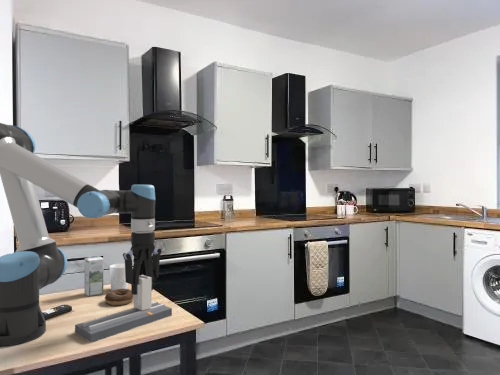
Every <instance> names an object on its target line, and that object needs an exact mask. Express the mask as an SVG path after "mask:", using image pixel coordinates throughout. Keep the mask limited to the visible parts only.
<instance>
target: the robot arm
mask: <svg viewBox="0 0 500 375" xmlns="http://www.w3.org/2000/svg"><path fill="white" fill-rule="evenodd" d="M35 152H36V142H35V139H34V137H33V136H32V134H30V132H29V131H27V130H25V129H24V128H21V127H19V126H17V125H13V124H6V123H2V122H0V180H1V183H2V187H3V189H4V190H3V191H4V193H5V197H6V200H7V205H8V208H9V212H10V215H11V220H12V224H13V226H14V231H15V233H16V237H17V240H18V247H17V249H16V250H15V252H12V253H6V254H3V255H1V256H0V347H6V346H7V347H8V346H13V345H20V344H24V343H26V342H30V341H33V340H35V339H37V338H39V337H41V336H43V335H44V334H45V333H46V331H47V323H46V320H45V317H44V314H43V312H42V309H41V306H40V290H41V289H43V288H45V287H47V286H49V285H52V284H54V283H55V282H57V281H58V280H59V279H60V278H62V276H64V274H65V273H66V270H67V268H68V259H67V256H66V254H65V252H64V251H63V250H61V249H60V248H59V247H58V245H57V242H56V240H55V239H53V238H51V237H50V236H49V232H48V230H47V225H46V222H45V217H44V215H43V211H42V207H41V204H40V200H39V197H38V193H37V189H36V186H37V187H39V188H41V189H43V190H44V191H46V192H48V193H49V194H51V195H53V196H55V197H57V198H59V199H60V200H62V201H64V202H66V203H67V204H70V205H71V206H73V207H75V208H77V210H78V212H79V213H80V214H81V215H82V216H83V217H84V218H85V217H86V218H87V219H88V218H89V219H98V218H102V217H104V216H108V215H112V214H113V215H114V214H131V216H130V220H131V221H130V230H131V231H132V232H131V233H130V244H131V247H130V249H129V251H128V252H123V254H122V257H123V259H124V260H123V261H124V264H125V279H126V283H128V285H129V284H130V285H131V286H130V288H131V289H130V290H131V293H132V294H133V301H132V304H133V305H134V304H137V305H140V284H138V280H139V275H140V273H141V267H142V264H143V261H144V269H145V276H148V277H152V291H154V282H156V280H157V279H159V278H160V277H159V276H160V258H161V254H162V251H163V250H162V249H161V248H158V247H156V246H155V242H156V240H155V238H156V237H155V235H156V232H155V231H154V230H156V227H155V226H156V223H155V222H156V218H155V216H156V209H155V208H156V192H155V191H156V190H155V186H154V185H152V184H132V185H131V188H130V189H128V190H118V189H117V190H115V189H101V190H100V189H98V188H96V187H94V186H93V185H90V184H89V183H87V182H85V181H84V180H82V179H80V178H78V177H76V176H75V175H73V174H72V173H69V172H68V171H66V170H64V169H62V168H61V167H58V166H56V165H55V164H53V163H51V162H50V161H47V160H46V159H44V158H43V157H41V156H39V155H37V154H35Z"/></svg>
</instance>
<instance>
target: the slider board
mask: <svg viewBox="0 0 500 375" xmlns="http://www.w3.org/2000/svg"><path fill="white" fill-rule="evenodd" d="M172 314H173V308H172V307H171V306H170V307H169V306H167V305H166V304H164V303H159V301H157V300H155V301H151V308H149V309H145V310H141V311H136V308H135V307H134V306H133V307H131V308H127V309H125V310H121V311H117V312H114V313H110V314H106V315H104V316H100V317H97V318H94V319H89V320H87V321H83V322H80V323H76V324H75V325H74V334H76V335H78V336H79V337H82V338H83V339H85V340H87V341H88V342H90V343H94V342H97V341H101V340H103V339H107V338H109V337H111V336H115V335H118V334H121V333H124V332H127V331H130V330H132V329H135V328H138V327H141V326H145V325H147V324H151V323H153V322H154V323H155V322H156V321H159V320H162V319H165V318H168V317H170V316H172Z"/></svg>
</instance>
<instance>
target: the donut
mask: <svg viewBox="0 0 500 375" xmlns="http://www.w3.org/2000/svg"><path fill="white" fill-rule="evenodd" d="M104 299H105V302H106V304H109V305H111V306H122V305H123V306H124V305H127V304H130V303H131V302H133V294H132V293H131V289H129V288H128V289H117V290H113V291H112V290H110V291H108V292H107V293H106V295H105V296H104Z"/></svg>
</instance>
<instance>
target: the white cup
mask: <svg viewBox="0 0 500 375" xmlns="http://www.w3.org/2000/svg"><path fill="white" fill-rule="evenodd" d="M109 280H110V281H109V283H110V291H113V290H117V289H129V283H126V279H125V262H124V263H122V262H121V263H113V264H110V265H109Z"/></svg>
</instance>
